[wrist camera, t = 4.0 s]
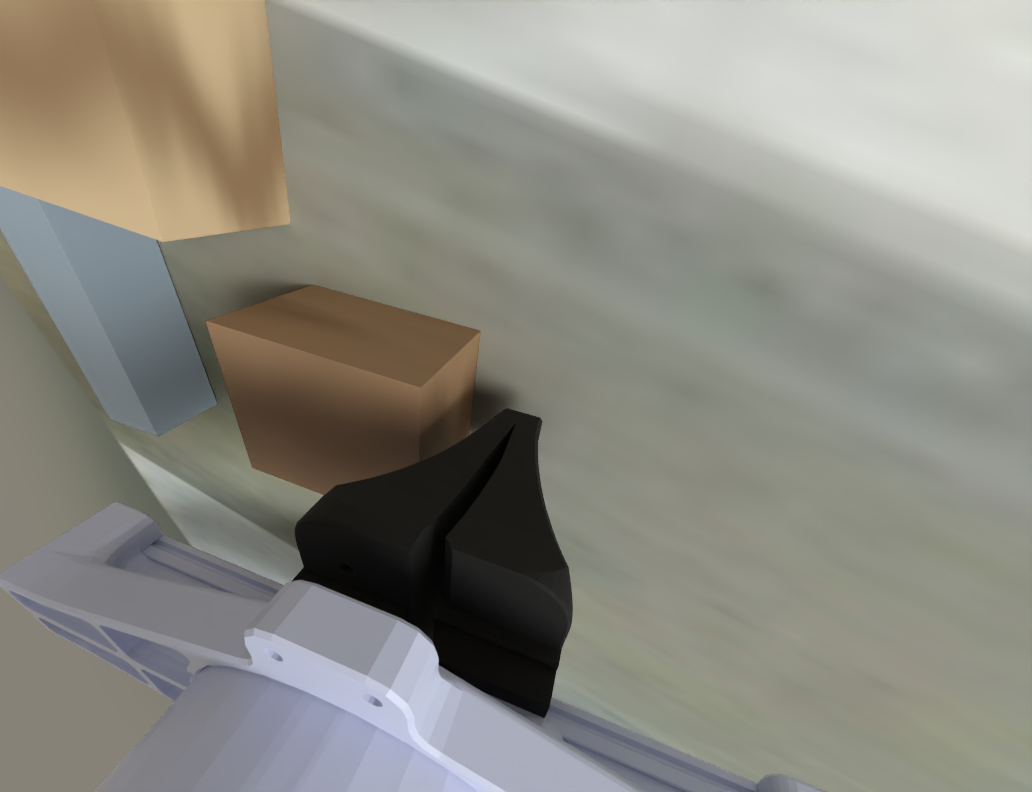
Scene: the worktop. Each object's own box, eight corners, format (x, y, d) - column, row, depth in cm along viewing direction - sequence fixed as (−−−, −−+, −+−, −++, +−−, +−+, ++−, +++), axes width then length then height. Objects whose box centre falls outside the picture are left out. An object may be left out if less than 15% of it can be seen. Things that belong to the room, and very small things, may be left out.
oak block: (294, 223, 14) (163, 242, 10) (139, 174, 15) (-35, 173, 11) (269, -8, 10) (58, -109, 7) (70, -54, 11) (-215, -166, 8)
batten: (217, 404, 20) (157, 436, 18) (173, 390, 21) (110, 419, 18) (22, -123, 10) (-171, -213, 8) (-51, -124, 11) (-254, -210, 9)
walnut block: (468, 451, 17) (417, 530, 13) (333, 407, 18) (252, 467, 14) (482, 329, 14) (420, 387, 10) (316, 283, 15) (205, 320, 11)
